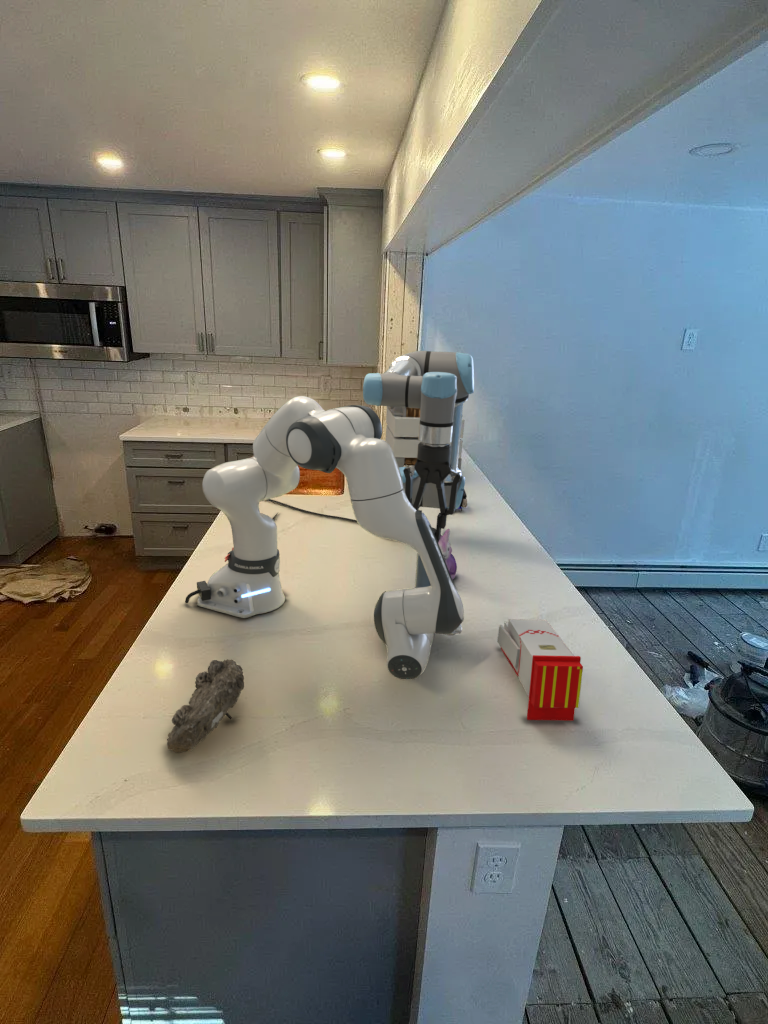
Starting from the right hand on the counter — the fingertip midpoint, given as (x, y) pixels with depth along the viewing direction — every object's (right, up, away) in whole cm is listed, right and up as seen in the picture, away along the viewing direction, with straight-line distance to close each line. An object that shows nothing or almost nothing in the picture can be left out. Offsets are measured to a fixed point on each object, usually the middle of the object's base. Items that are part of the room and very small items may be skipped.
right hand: (427, 538), depth 136 cm
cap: (0, +2, -1) cm, 2 cm away
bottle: (-1, -22, +8) cm, 23 cm away
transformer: (+7, +25, +139) cm, 142 cm away
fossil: (-43, -33, -27) cm, 61 cm away
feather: (-51, +5, +75) cm, 91 cm away
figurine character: (+19, +8, +94) cm, 96 cm away
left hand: (-1, -16, +7) cm, 17 cm away
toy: (+22, -30, -12) cm, 39 cm away
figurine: (+7, -13, +33) cm, 36 cm away
